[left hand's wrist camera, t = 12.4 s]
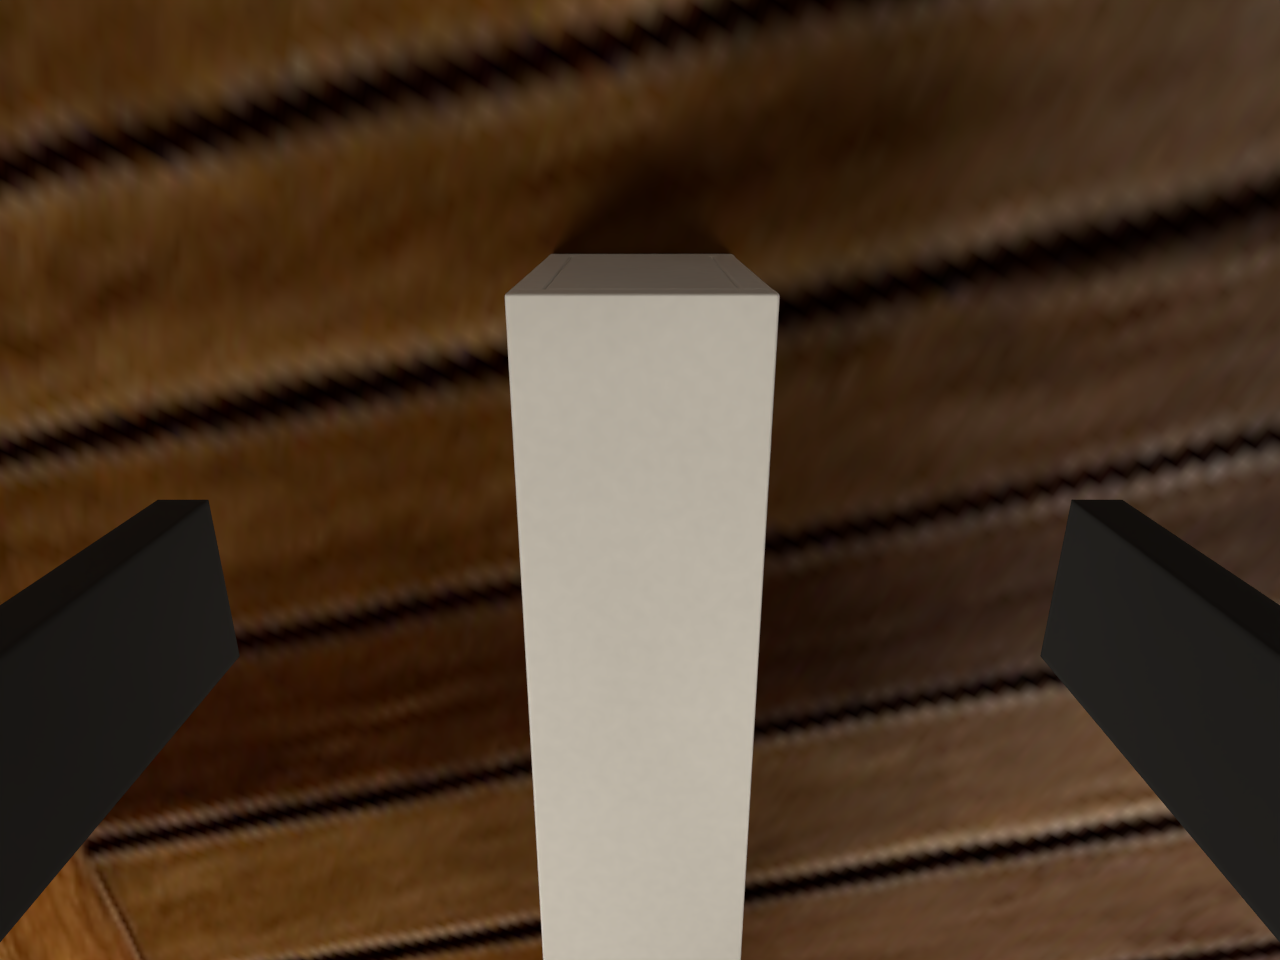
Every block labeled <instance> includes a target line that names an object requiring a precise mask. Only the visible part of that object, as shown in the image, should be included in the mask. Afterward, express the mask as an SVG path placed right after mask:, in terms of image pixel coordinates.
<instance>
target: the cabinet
mask: <svg viewBox="0 0 1280 960" xmlns="http://www.w3.org/2000/svg"><path fill="white" fill-rule="evenodd" d="M779 298H780V296H779V294H778V293H777V292H776V291H775V290H773V289H772V288H770V287H769V286H768V285H767V284H766V283H765V282H763V281H762V280H761V279H760V278H759V277H758V276H756V275H755V274H754V273H753V272H752V271H751V270H749V269H748V268H747V267H746V266H745V265H744V264H742V263H741V262H740V261H739V260H738V259H737V258H735V256H734V255H733V254H550V255H549V256H548V257H547V258H546V259H545V260H544V261H543V262H542V263H541V264H539V265H538V266H537V267H536V268H535V269H534V270H533V271H531V272H530V273H529V274H528V275H527V276H526V277H525V278H523V279H522V280H521V281H520V282H519V283H518V284H517V285H516V286H514V287H513V288H512V289H511V290H510V291H509V292H507V293H506V294H505V309H506V326H507V344H508V361H509V378H510V395H511V413H512V430H513V447H514V464H515V482H516V499H517V516H518V534H519V551H520V568H521V585H522V603H523V620H524V637H525V654H526V672H527V689H528V706H529V724H530V741H531V758H532V775H533V793H534V810H535V827H536V844H537V862H538V879H539V896H540V913H541V931H542V948H543V960H741V945H742V928H743V911H744V894H745V877H746V860H747V843H748V826H749V809H750V792H751V775H752V758H753V741H754V724H755V707H756V690H757V673H758V656H759V639H760V622H761V605H762V588H763V571H764V554H765V537H766V520H767V503H768V486H769V469H770V452H771V435H772V418H773V401H774V384H775V367H776V350H777V333H778V316H779Z"/></svg>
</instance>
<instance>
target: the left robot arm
mask: <svg viewBox="0 0 1280 960" xmlns="http://www.w3.org/2000/svg"><path fill="white" fill-rule="evenodd" d="M238 657H239V651H238V646H237V641H236V636H235V631H234V626H233V621H232V616H231V611H230V606H229V601H228V596H227V591H226V586H225V581H224V576H223V571H222V566H221V561H220V556H219V551H218V546H217V541H216V536H215V531H214V526H213V521H212V516H211V511H210V506H209V501H208V500H157V501H155V502H154V503H152V504H151V505H150V506H148V507H147V508H145V509H144V510H142V511H141V512H139V513H138V514H136V515H135V516H133V517H132V518H130V519H129V520H127V521H126V522H124V523H123V524H121V525H120V526H118V527H117V528H115V529H114V530H112V531H111V532H109V533H108V534H106V535H105V536H103V537H102V538H100V539H99V540H97V541H96V542H94V543H93V544H91V545H90V546H88V547H87V548H85V549H84V550H82V551H81V552H79V553H78V554H76V555H75V556H73V557H72V558H70V559H69V560H67V561H66V562H64V563H63V564H61V565H60V566H58V567H57V568H55V569H54V570H52V571H51V572H49V573H48V574H46V575H45V576H43V577H42V578H40V579H39V580H37V581H36V582H34V583H33V584H31V585H30V586H28V587H27V588H25V589H24V590H22V591H21V592H19V593H18V594H16V595H15V596H13V597H12V598H11V599H9V600H8V601H6V602H5V603H3V604H2V605H0V942H1V941H2V939H3V938H4V937H5V936H6V935H7V933H8V932H9V931H10V930H11V929H12V927H13V926H14V925H15V924H16V923H17V921H18V920H19V919H20V918H21V917H22V916H23V914H24V913H25V912H26V911H27V910H28V908H29V907H30V906H31V905H32V904H33V902H34V901H35V900H36V899H37V898H38V896H39V895H40V894H41V893H42V892H43V890H44V889H45V888H46V887H47V886H48V884H49V883H50V882H51V881H52V880H53V878H54V877H55V876H56V875H57V874H58V872H59V871H60V870H61V869H62V868H63V867H64V865H65V864H66V863H67V862H68V861H69V859H70V858H71V857H72V856H73V855H74V853H75V852H76V851H77V850H78V849H79V847H80V846H81V845H82V844H83V843H84V841H85V840H86V839H87V838H88V837H89V835H90V834H91V833H92V832H93V831H94V829H95V828H96V827H97V826H98V825H99V823H100V822H101V821H102V820H103V819H104V817H105V816H106V815H107V814H108V813H109V812H110V810H111V809H112V808H113V807H114V806H115V804H116V803H117V802H118V801H119V800H120V798H121V797H122V796H123V795H124V794H125V792H126V791H127V790H128V789H129V788H130V786H131V785H132V784H133V783H134V782H135V780H136V779H137V778H138V777H139V776H140V774H141V773H142V772H143V771H144V770H145V768H146V767H147V766H148V765H149V764H150V762H151V761H152V760H153V759H154V758H155V757H156V755H157V754H158V753H159V752H160V751H161V749H162V748H163V747H164V746H165V745H166V743H167V742H168V741H169V740H170V739H171V737H172V736H173V735H174V734H175V733H176V731H177V730H178V729H179V728H180V727H181V725H182V724H183V723H184V722H185V721H186V719H187V718H188V717H189V716H190V715H191V713H192V712H193V711H194V710H195V709H196V708H197V706H198V705H199V704H200V703H201V702H202V700H203V699H204V698H205V697H206V696H207V694H208V693H209V692H210V691H211V690H212V688H213V687H214V686H215V685H216V684H217V682H218V681H219V680H220V679H221V678H222V676H223V675H224V674H225V673H226V672H227V670H228V669H229V668H230V667H231V666H232V664H233V663H234V662H235V661H236V660H237V658H238ZM1041 657H1042V658H1043V660H1044V661H1045V662H1046V663H1047V664H1048V666H1049V667H1050V668H1051V669H1052V670H1053V672H1054V673H1055V674H1056V675H1057V676H1058V678H1059V679H1060V680H1061V681H1062V682H1063V684H1064V685H1065V686H1066V687H1067V688H1068V690H1069V691H1070V692H1071V693H1072V694H1073V696H1074V697H1075V698H1076V699H1077V700H1078V702H1079V703H1080V704H1081V705H1082V706H1083V708H1084V709H1085V710H1086V711H1087V712H1088V713H1089V715H1090V716H1091V717H1092V718H1093V719H1094V721H1095V722H1096V723H1097V724H1098V725H1099V727H1100V728H1101V729H1102V730H1103V731H1104V733H1105V734H1106V735H1107V736H1108V737H1109V739H1110V740H1111V741H1112V742H1113V743H1114V745H1115V746H1116V747H1117V748H1118V749H1119V751H1120V752H1121V753H1122V754H1123V755H1124V757H1125V758H1126V759H1127V760H1128V761H1129V762H1130V764H1131V765H1132V766H1133V767H1134V768H1135V770H1136V771H1137V772H1138V773H1139V774H1140V776H1141V777H1142V778H1143V779H1144V780H1145V782H1146V783H1147V784H1148V785H1149V786H1150V788H1151V789H1152V790H1153V791H1154V792H1155V794H1156V795H1157V796H1158V797H1159V798H1160V800H1161V801H1162V802H1163V803H1164V804H1165V806H1166V807H1167V808H1168V809H1169V810H1170V812H1171V813H1172V814H1173V815H1174V816H1175V817H1176V819H1177V820H1178V821H1179V822H1180V823H1181V825H1182V826H1183V827H1184V828H1185V829H1186V831H1187V832H1188V833H1189V834H1190V835H1191V837H1192V838H1193V839H1194V840H1195V841H1196V843H1197V844H1198V845H1199V846H1200V847H1201V849H1202V850H1203V851H1204V852H1205V853H1206V855H1207V856H1208V857H1209V858H1210V859H1211V861H1212V862H1213V863H1214V864H1215V865H1216V867H1217V868H1218V869H1219V870H1220V871H1221V872H1222V874H1223V875H1224V876H1225V877H1226V878H1227V880H1228V881H1229V882H1230V883H1231V884H1232V886H1233V887H1234V888H1235V889H1236V890H1237V892H1238V893H1239V894H1240V895H1241V896H1242V898H1243V899H1244V900H1245V901H1246V902H1247V904H1248V905H1249V906H1250V907H1251V908H1252V910H1253V911H1254V912H1255V913H1256V914H1257V916H1258V917H1259V918H1260V919H1261V920H1262V921H1263V923H1264V924H1265V925H1266V926H1267V927H1268V929H1269V930H1270V931H1271V932H1272V933H1273V935H1274V936H1275V937H1276V938H1277V939H1278V941H1279V942H1280V605H1278V604H1277V603H1275V602H1274V601H1272V600H1271V599H1269V598H1268V597H1267V596H1265V595H1264V594H1262V593H1261V592H1259V591H1258V590H1256V589H1255V588H1253V587H1252V586H1250V585H1249V584H1247V583H1246V582H1244V581H1243V580H1241V579H1240V578H1238V577H1237V576H1235V575H1234V574H1232V573H1231V572H1229V571H1228V570H1226V569H1225V568H1223V567H1222V566H1220V565H1219V564H1217V563H1216V562H1214V561H1213V560H1211V559H1210V558H1208V557H1207V556H1205V555H1204V554H1202V553H1201V552H1199V551H1198V550H1196V549H1195V548H1193V547H1192V546H1190V545H1189V544H1187V543H1186V542H1184V541H1183V540H1181V539H1180V538H1178V537H1177V536H1175V535H1174V534H1172V533H1171V532H1169V531H1168V530H1166V529H1165V528H1163V527H1162V526H1160V525H1159V524H1157V523H1156V522H1154V521H1153V520H1151V519H1150V518H1148V517H1147V516H1145V515H1144V514H1142V513H1141V512H1139V511H1138V510H1136V509H1135V508H1133V507H1132V506H1130V505H1129V504H1128V503H1126V502H1125V501H1123V500H1072V501H1071V506H1070V511H1069V516H1068V521H1067V526H1066V531H1065V536H1064V541H1063V546H1062V551H1061V556H1060V561H1059V566H1058V571H1057V576H1056V581H1055V586H1054V591H1053V596H1052V601H1051V606H1050V611H1049V616H1048V621H1047V626H1046V631H1045V636H1044V641H1043V646H1042V651H1041Z"/></svg>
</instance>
